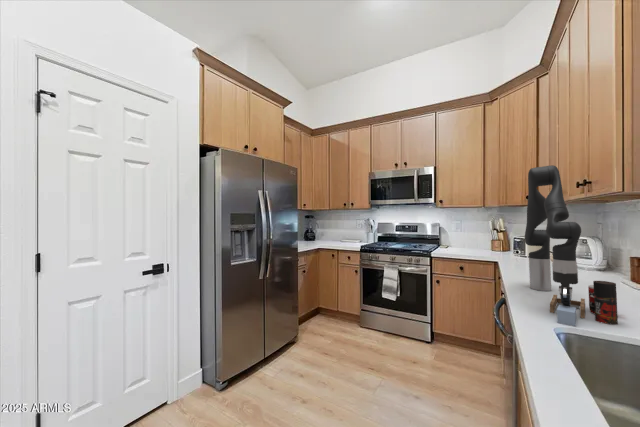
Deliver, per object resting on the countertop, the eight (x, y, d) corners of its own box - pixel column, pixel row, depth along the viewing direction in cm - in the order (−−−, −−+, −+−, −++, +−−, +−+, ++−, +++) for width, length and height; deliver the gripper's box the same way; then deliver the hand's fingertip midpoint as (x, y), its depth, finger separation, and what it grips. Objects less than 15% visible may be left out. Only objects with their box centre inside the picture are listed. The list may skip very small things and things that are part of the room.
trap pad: (558, 303, 122) (558, 302, 123) (579, 306, 117) (579, 305, 117) (557, 305, 119) (557, 305, 119) (579, 309, 114) (579, 308, 114)
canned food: (591, 309, 114) (590, 283, 114) (619, 314, 108) (617, 287, 108) (587, 313, 110) (586, 286, 110) (615, 318, 103) (614, 290, 103)
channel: (554, 301, 125) (553, 294, 125) (585, 306, 117) (584, 298, 117) (550, 312, 111) (549, 304, 112) (584, 318, 104) (584, 309, 104)
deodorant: (591, 319, 103) (589, 281, 103) (600, 317, 104) (599, 280, 105) (612, 325, 97) (610, 284, 97) (621, 323, 99) (619, 283, 99)
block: (559, 317, 106) (558, 304, 106) (576, 320, 102) (576, 307, 103) (557, 322, 101) (556, 309, 101) (575, 326, 97) (574, 312, 97)
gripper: (553, 267, 114) (555, 307, 114) (551, 272, 105) (552, 315, 104) (578, 269, 109) (579, 311, 108) (577, 274, 99) (579, 320, 99)
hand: (566, 313), depth 106 cm, fingers closed
